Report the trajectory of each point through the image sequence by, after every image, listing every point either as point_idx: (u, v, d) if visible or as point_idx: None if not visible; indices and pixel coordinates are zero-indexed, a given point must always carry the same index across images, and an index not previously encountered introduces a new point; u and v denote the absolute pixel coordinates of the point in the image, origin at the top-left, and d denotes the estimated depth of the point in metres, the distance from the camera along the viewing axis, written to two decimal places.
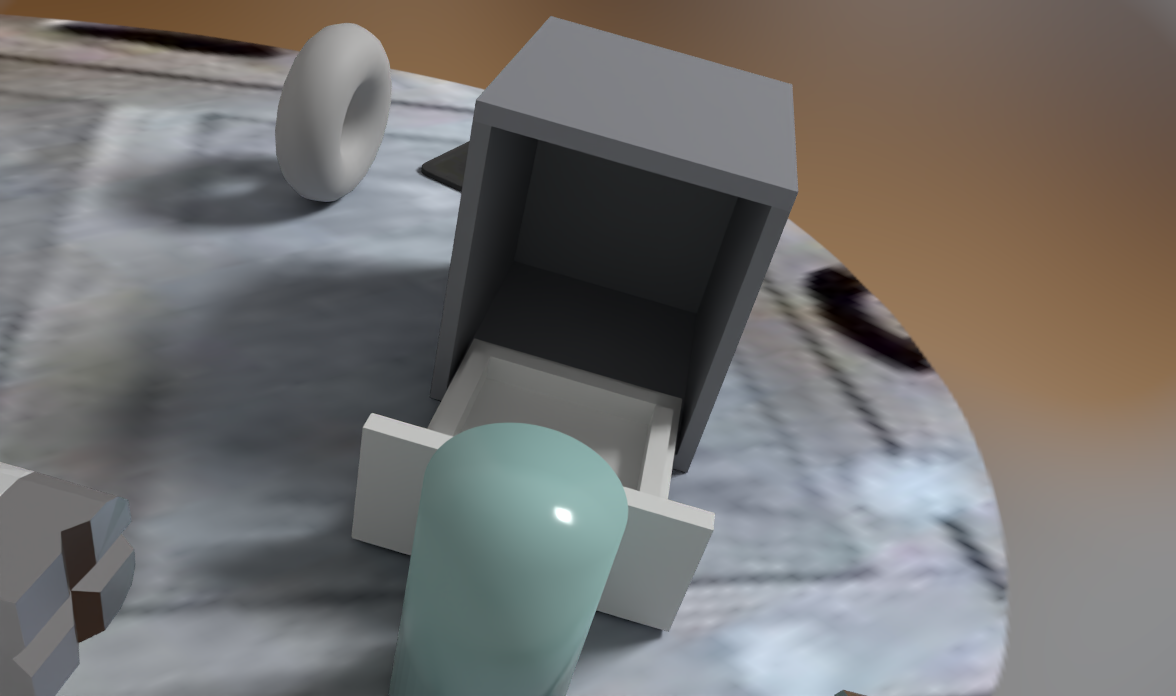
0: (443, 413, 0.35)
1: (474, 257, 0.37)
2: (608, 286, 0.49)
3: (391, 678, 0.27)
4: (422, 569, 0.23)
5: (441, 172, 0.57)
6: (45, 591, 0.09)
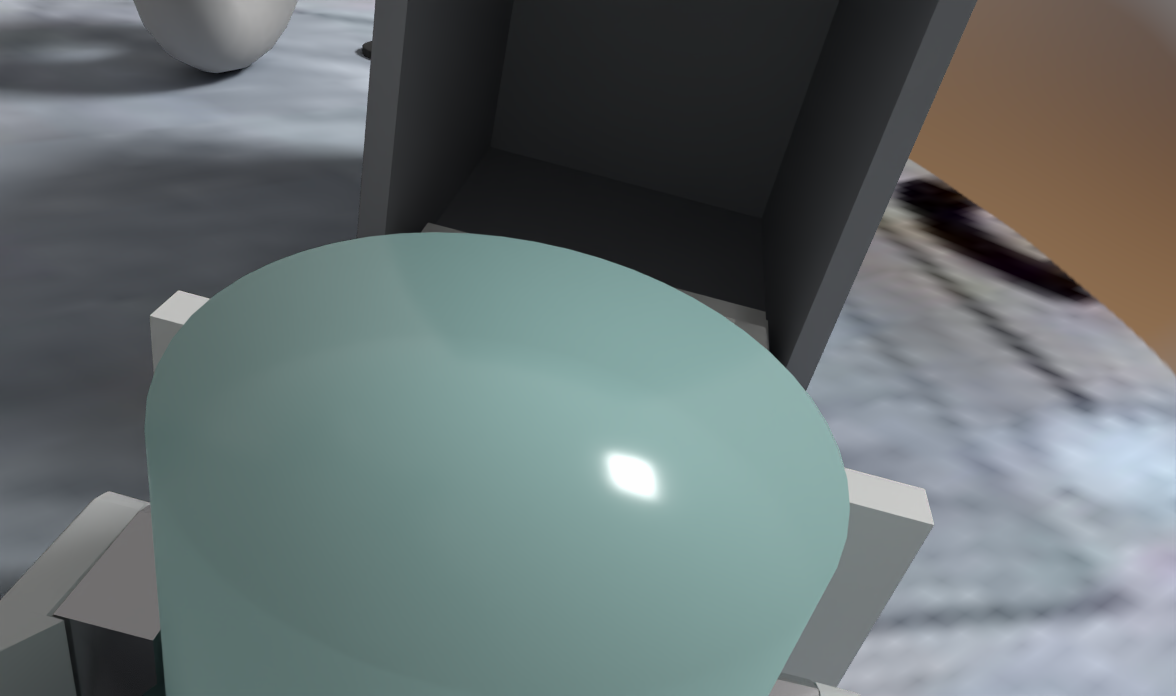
0: None
1: (415, 61, 0.21)
2: (630, 181, 0.34)
3: None
4: (167, 663, 0.07)
5: None
6: None
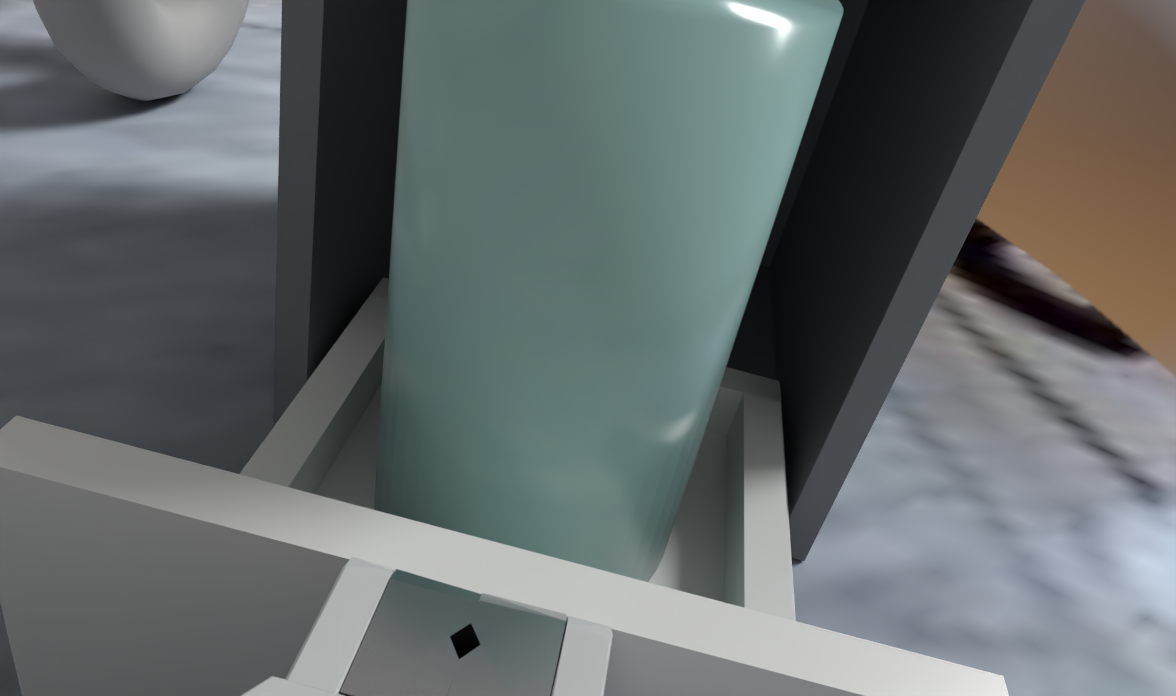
0: (286, 419, 0.15)
1: (341, 108, 0.17)
2: None
3: (377, 457, 0.15)
4: (425, 118, 0.11)
5: None
6: None
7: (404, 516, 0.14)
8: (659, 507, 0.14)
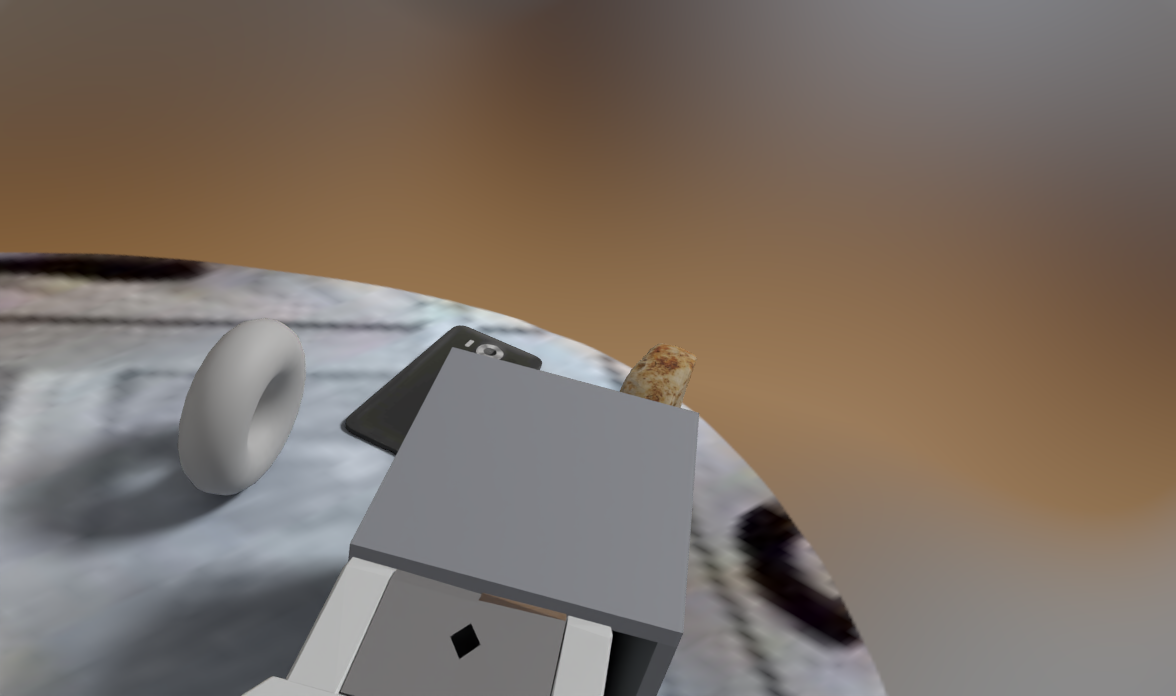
0: None
1: None
2: None
3: None
4: None
5: (365, 428, 0.56)
6: None
7: None
8: None
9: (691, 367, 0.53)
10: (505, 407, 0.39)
